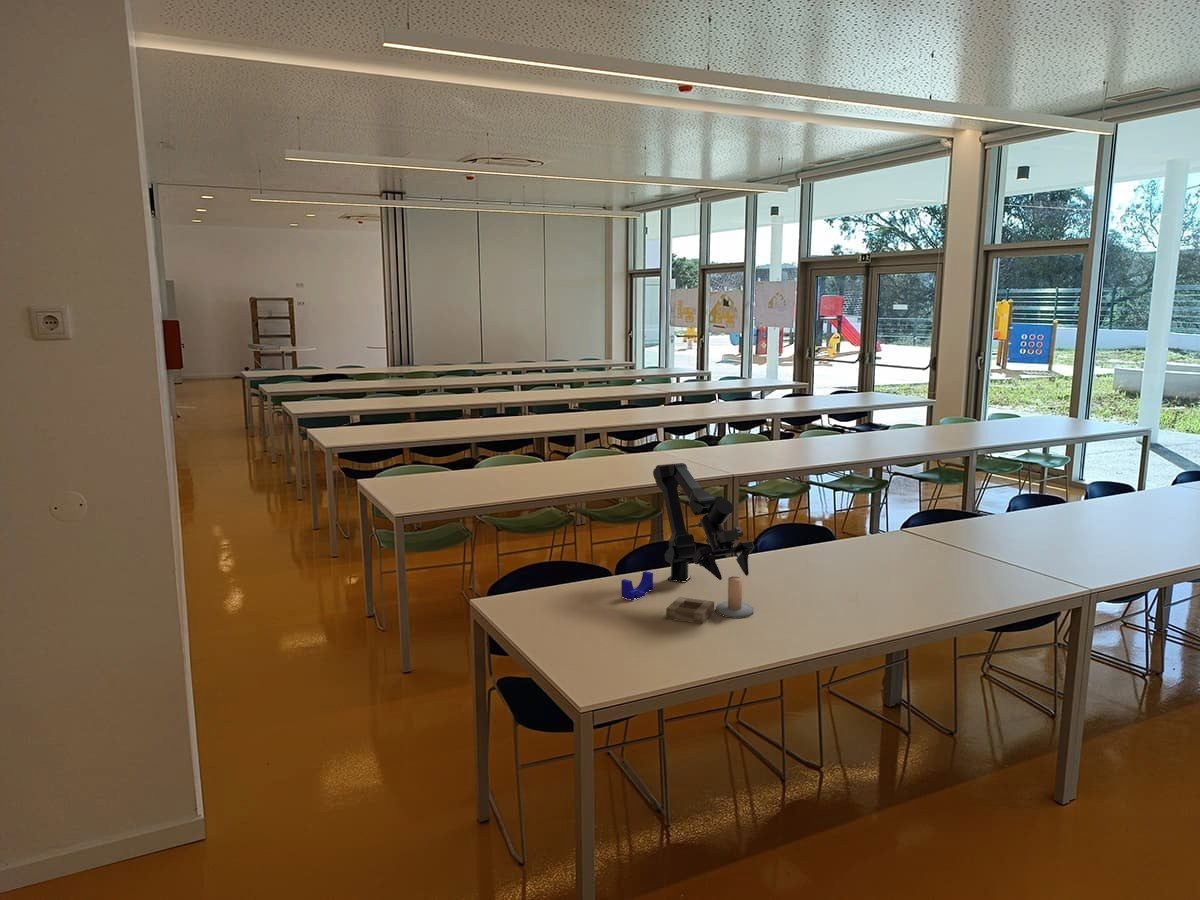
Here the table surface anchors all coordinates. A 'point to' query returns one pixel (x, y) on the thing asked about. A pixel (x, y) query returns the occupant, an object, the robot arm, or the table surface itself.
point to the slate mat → (743, 612)
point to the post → (734, 593)
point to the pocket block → (690, 610)
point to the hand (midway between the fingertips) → (734, 577)
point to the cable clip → (640, 591)
